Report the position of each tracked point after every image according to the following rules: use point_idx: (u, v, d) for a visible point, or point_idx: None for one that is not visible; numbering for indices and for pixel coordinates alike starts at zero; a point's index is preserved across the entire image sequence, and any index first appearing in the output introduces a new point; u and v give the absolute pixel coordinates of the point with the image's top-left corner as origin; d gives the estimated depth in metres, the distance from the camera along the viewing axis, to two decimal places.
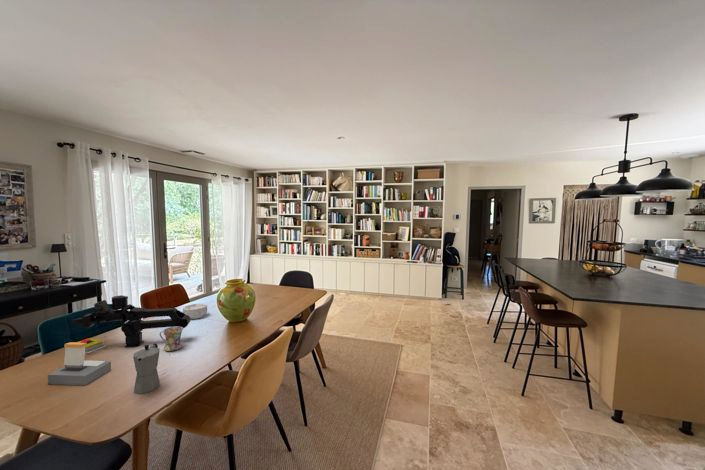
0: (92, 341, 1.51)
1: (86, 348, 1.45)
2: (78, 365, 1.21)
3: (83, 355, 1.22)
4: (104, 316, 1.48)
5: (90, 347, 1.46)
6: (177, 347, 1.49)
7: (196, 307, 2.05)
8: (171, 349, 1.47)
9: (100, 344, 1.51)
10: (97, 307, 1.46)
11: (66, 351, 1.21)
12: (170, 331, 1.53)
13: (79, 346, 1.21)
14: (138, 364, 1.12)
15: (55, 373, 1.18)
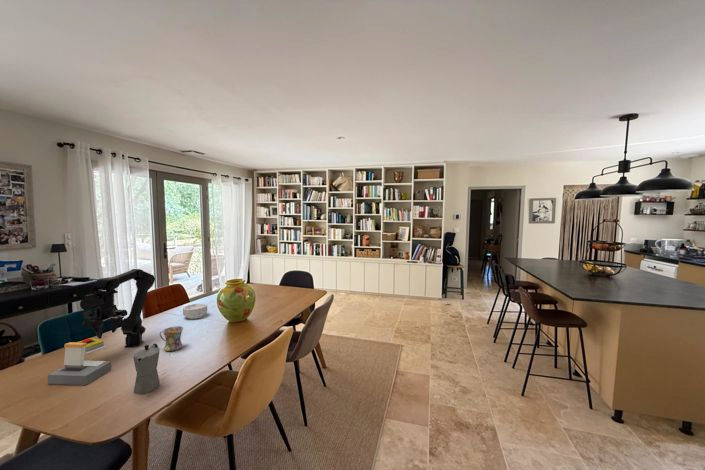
0: (93, 341, 1.52)
1: (86, 348, 1.45)
2: (78, 365, 1.21)
3: (83, 355, 1.22)
4: (100, 310, 1.34)
5: (90, 347, 1.46)
6: (177, 347, 1.49)
7: (196, 307, 2.05)
8: (171, 349, 1.47)
9: (101, 344, 1.51)
10: (86, 316, 1.33)
11: (66, 351, 1.21)
12: (170, 331, 1.53)
13: (79, 346, 1.21)
14: (138, 364, 1.12)
15: (55, 373, 1.18)
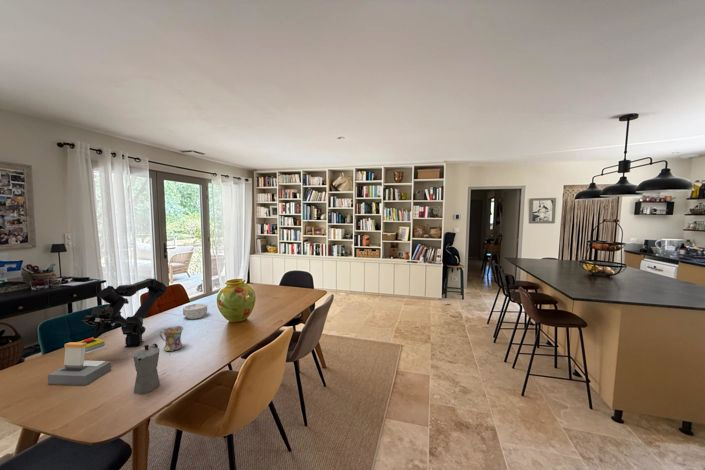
0: (95, 341, 1.52)
1: (86, 348, 1.45)
2: (78, 365, 1.21)
3: (83, 355, 1.22)
4: (116, 312, 1.39)
5: (90, 347, 1.47)
6: (177, 347, 1.49)
7: (196, 307, 2.05)
8: (171, 349, 1.47)
9: (101, 344, 1.51)
10: (109, 311, 1.33)
11: (66, 351, 1.21)
12: (170, 331, 1.53)
13: (79, 346, 1.21)
14: (138, 364, 1.12)
15: (55, 373, 1.18)
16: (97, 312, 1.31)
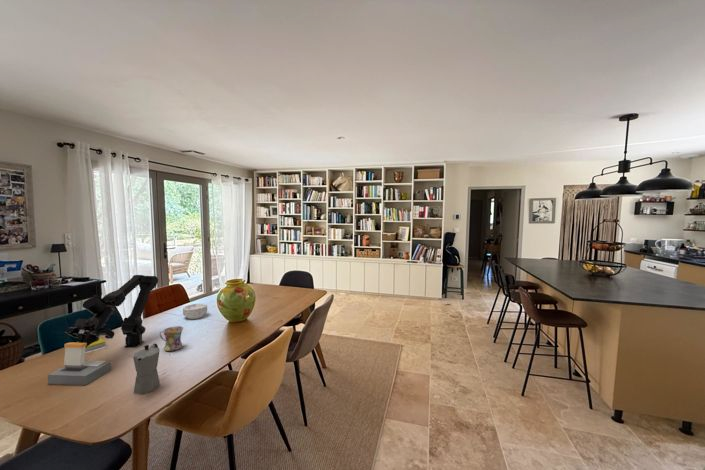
0: (96, 340, 1.52)
1: (86, 348, 1.45)
2: (78, 365, 1.21)
3: (83, 355, 1.22)
4: (102, 323, 1.31)
5: (90, 347, 1.47)
6: (177, 347, 1.49)
7: (196, 307, 2.05)
8: (171, 349, 1.47)
9: (102, 344, 1.51)
10: (94, 322, 1.26)
11: (66, 351, 1.21)
12: (170, 331, 1.53)
13: (79, 346, 1.21)
14: (138, 364, 1.12)
15: (55, 373, 1.18)
16: (81, 323, 1.23)
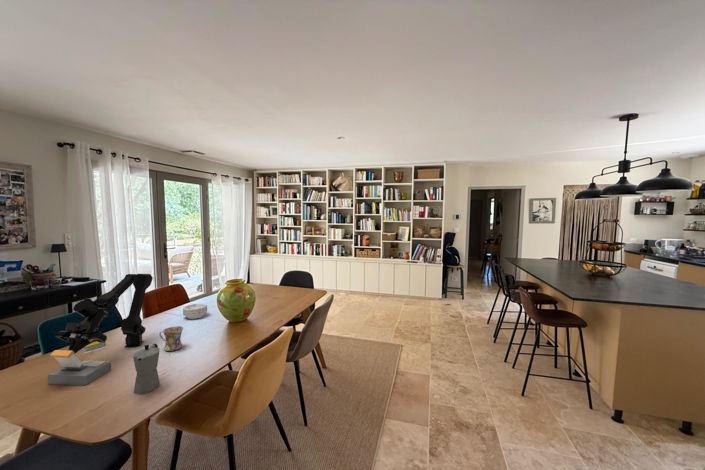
0: None
1: (86, 347, 1.45)
2: (77, 367, 1.20)
3: (77, 359, 1.19)
4: (94, 326, 1.27)
5: (91, 347, 1.47)
6: (177, 347, 1.49)
7: (196, 307, 2.05)
8: (171, 349, 1.47)
9: (102, 344, 1.51)
10: (85, 326, 1.22)
11: (57, 359, 1.17)
12: (170, 331, 1.53)
13: (66, 356, 1.16)
14: (138, 364, 1.12)
15: (55, 373, 1.18)
16: (72, 328, 1.19)
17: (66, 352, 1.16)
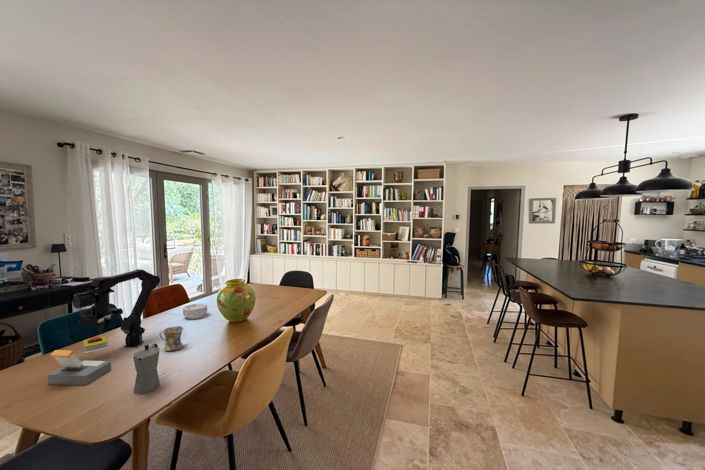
0: (100, 340, 1.53)
1: (86, 347, 1.46)
2: (77, 367, 1.20)
3: (77, 359, 1.19)
4: (95, 309, 1.36)
5: (91, 347, 1.47)
6: (177, 347, 1.49)
7: (196, 307, 2.05)
8: (171, 349, 1.47)
9: (103, 345, 1.50)
10: (81, 314, 1.35)
11: (57, 359, 1.17)
12: (170, 331, 1.53)
13: (66, 356, 1.16)
14: (138, 364, 1.12)
15: (55, 373, 1.18)
16: None
17: (66, 352, 1.16)
